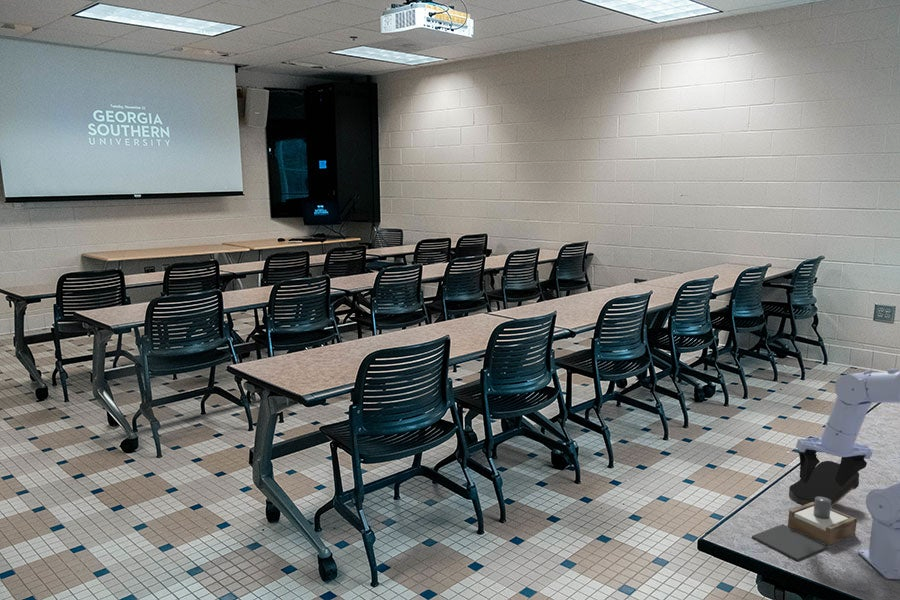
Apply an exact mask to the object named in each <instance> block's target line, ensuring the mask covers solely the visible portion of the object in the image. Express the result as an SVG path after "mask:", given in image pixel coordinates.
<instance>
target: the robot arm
mask: <svg viewBox="0 0 900 600" xmlns="http://www.w3.org/2000/svg"><path fill="white" fill-rule="evenodd" d="M834 391H835V394H836V398H835V401H834V403H833V406H832V408H831V412H830V414H829V417H828V419H827V421H826V424H825V426H824V429H823V431H822V434H821V436H818V437H810V438H798V439H797V442H796V445H795V447H796V449H797V452H798V455H799V456H798V457H799V465H800V466H799V477H798V478H799V479H801V480H802V481H803V482H804V483H807V482H808V480H809V478H810V476H811V473H812V471H813V470H814V468H815V467H816V466H817V465H818V464H819V463H821V461H820V460H819V458H818V454H817V453H825V454H828V455H831V456H836V457H839V458H841V460H840V463H839V464H840V466H839V469H838V472H837V474H836V478H835V481H836V482H837V483H838V484H839V486H842V487H843V486H844V484H845V483H846V482H847V481H848V480H849V479H850V478H851V477H852V476H853V475H854V474H855V473H857V472H858V473H859V472H860V471H861V470H863V469H865V468H866V466H867V465H868V463H867V461H866V460H870V459H871V457H872V455H873V453H874V451H873V450H872V448H870V447H869V445H862V444H859V443H856V439H857V437H858V435H859V432H860V430H861V427H862V426H863V423H864V420H865V418H866V415H867V413H868V410H869V409H870V407H871V405H872V403H875V404H876V403H881V404H882V403H884V404H885V403H888V404H891V403H893V404H894V403H897V404H898V403H899V404H900V369H899V368H897V367H896V368H888V369H887V370H886V371H882V372H881V371H880V372H876V371H875V372H874V371H873V370H872V369H870V370H864V371H863V372H856V373H847V374H845V375H841V376H839V377H838V378H837V379H836V380H835V384H834ZM865 459H866V460H865ZM865 505H866V509H867V511H868V513H869V514H870V515H871V519H872V520H871V521H872V522H871V527H870V528H871V529H870V530H871V531H870V536H869V537H870V538H869V546H868V549H858V550H857V553H858V554H859V555H860V556H861V557H862V558H864V560H866V561H867V563H869V564H871V566H872V567H874V568H875V570H877V571H878V572H879V573H880V574H881V575H882V576H883V577H884V578H885V579H887V580H900V481H897V483H894V484H891V485H890V486H885V487H882V488H874V489H872V490H870V491H869V492H868V493H867V494H866V498H865Z"/></svg>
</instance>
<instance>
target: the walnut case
mask: <svg viewBox="0 0 900 600" xmlns="http://www.w3.org/2000/svg"><path fill="white" fill-rule="evenodd" d="M814 503H815V502H811V503H808V504H805V505H803V506H802V505H799V506H797V507H795V508H792V509H789V510H788V520H787V526H788V527H790V528H792V529H794V530H796V531H798V532H801V533H803V534H805V535H807V536H809V537H811V538H813V539H815V540H818V541H820V542H822V543H824V544H826V545H828V546H831V545H833V544H836V543H837V542H840V541H842V540H843V541H844V540H845V539H847V538H850V537H852V536H855V535H856V529H857V522H858V518H857V517H855V516H851V515H849V514H846V513H845V512H842V511H839V510H837V509H834V508H833V507H831V511H833V512H835V513H838V514H840V515H842V516H845V517H847V518H849V519H846V520H844V521H841V522H839V523H836V524H834V525H831V526H829V527H827V531H825V530H822V529H820V528H818V527H816V526H814V525H811V524H809V523H807V522H805V521H803V520H800V519H798V518H796V517H794V514H795V513H796V512H799V511H802V510H805V509H807V508H810V507H813V506H814Z"/></svg>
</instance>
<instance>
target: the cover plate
mask: <svg viewBox="0 0 900 600" xmlns="http://www.w3.org/2000/svg"><path fill="white" fill-rule="evenodd" d="M831 508H832V507H831V500H830V499H828V498H825V497H815V503H814V506H813V507H810V508H807V509H805V510H802V511H799V512H796V513H795V514H794V517H796V518H798V519H800V520H803V521H805V522H807V523H809V524H811V525H814V526H816V527H818V528H820V529H822V530H825V531H827V527H829V526H831V525H834V524H836V523H839V522H841V521H844V520H846V519H849V518H847V517H845V516H842V515H840V514H838V513H835V512H833V511H831Z"/></svg>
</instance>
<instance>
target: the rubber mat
mask: <svg viewBox="0 0 900 600" xmlns="http://www.w3.org/2000/svg"><path fill="white" fill-rule="evenodd" d="M751 539H754V541H755V540H756V541H757V542H759V543H761V544H764V545H765V546H768V547H769V548H771V549H772V550H775V551H778V552H779V553H781V554H783V555H786V556H787V557H789V558H791V559H793V560H795V561H797V562H799V561H801V560H803V559H805V558H808V557H810V556H813V555H815V554H817V553H819V552H822V551H824V550H826V549H829V547H830V545H828V544H825V543H823V542H821V541H819V540H817V539H815V538H813V537H811V536H808V535H806V534H804V533H802V532H800V531H798V530H796V529H793V528H791V527H789V526H788V525H786V524H783V523H782V524H779V525H777V526H774V527H772V528H769V529H767V530H763V531H761V532H759V533H758V532H757V533H756V534H753V535H751Z"/></svg>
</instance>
